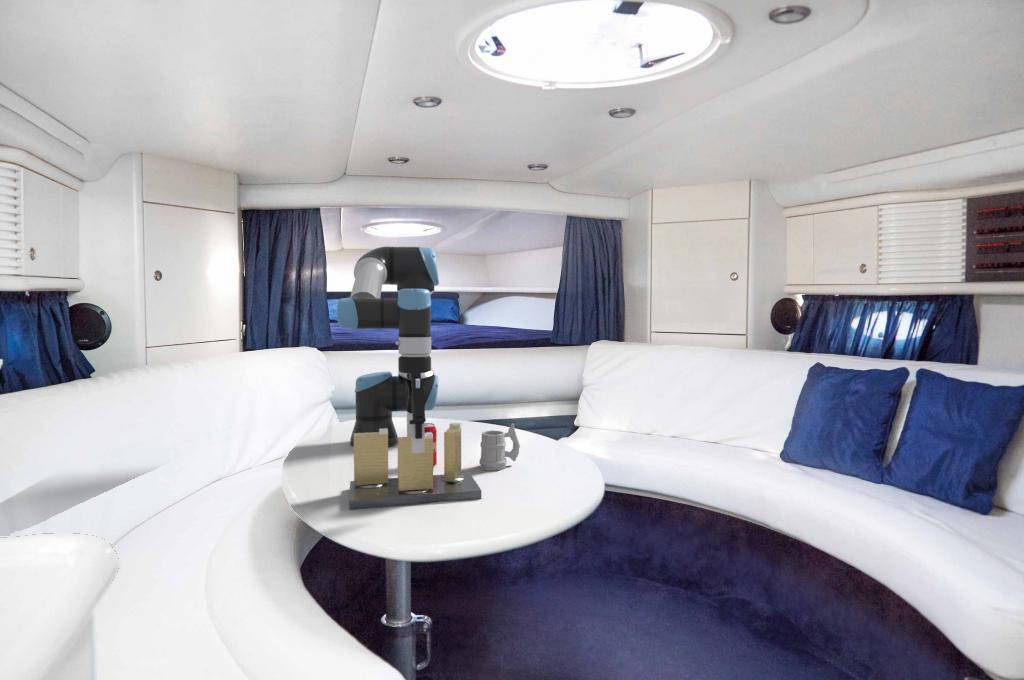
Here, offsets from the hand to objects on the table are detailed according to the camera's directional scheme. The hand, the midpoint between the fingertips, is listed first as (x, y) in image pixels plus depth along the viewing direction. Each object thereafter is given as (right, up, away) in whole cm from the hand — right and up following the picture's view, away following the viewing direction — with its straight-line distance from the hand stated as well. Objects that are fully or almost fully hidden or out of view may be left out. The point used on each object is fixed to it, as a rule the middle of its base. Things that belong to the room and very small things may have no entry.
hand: (415, 445), depth 135 cm
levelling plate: (-1, -12, +4) cm, 13 cm away
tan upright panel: (+8, -10, +10) cm, 16 cm away
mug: (+19, -11, +28) cm, 36 cm away
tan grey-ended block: (0, -10, +1) cm, 10 cm away
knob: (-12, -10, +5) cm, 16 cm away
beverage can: (-2, -11, +28) cm, 30 cm away
